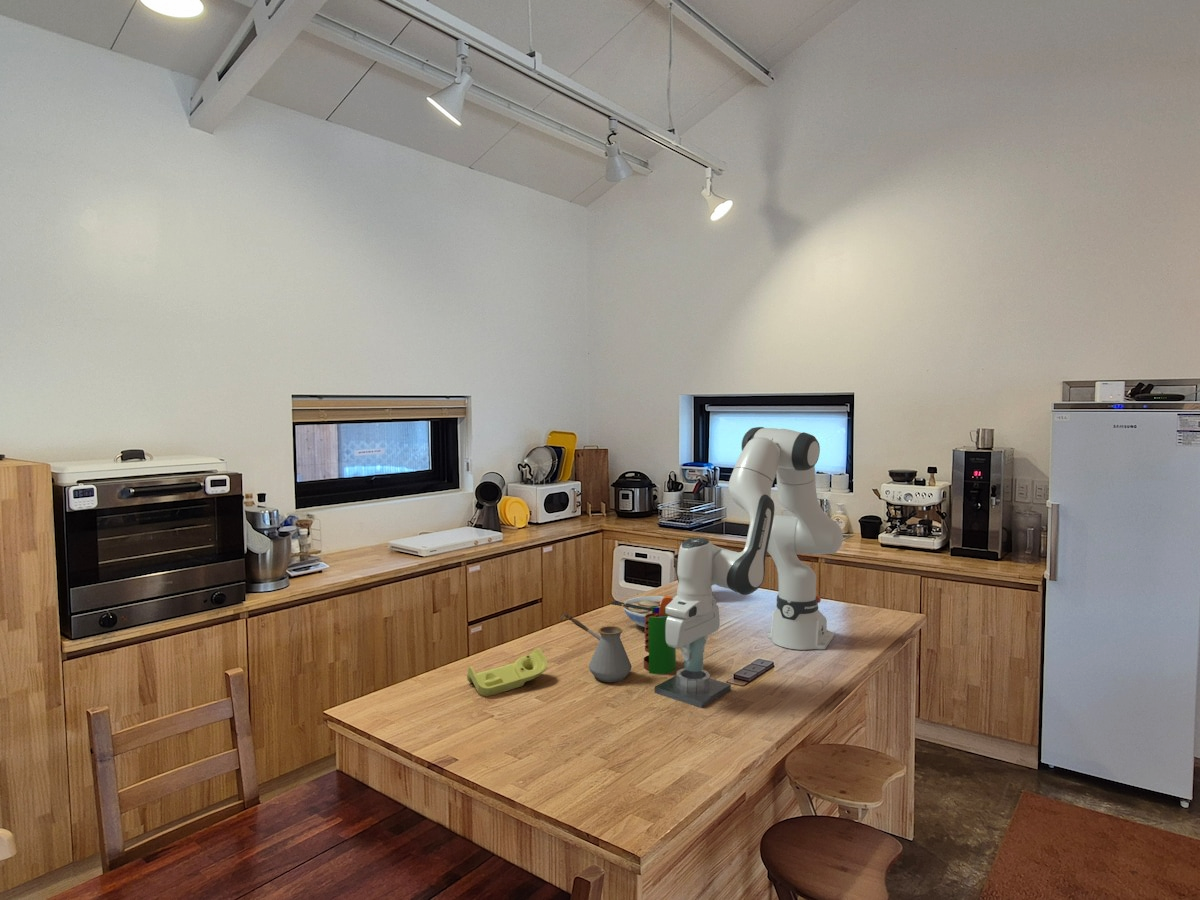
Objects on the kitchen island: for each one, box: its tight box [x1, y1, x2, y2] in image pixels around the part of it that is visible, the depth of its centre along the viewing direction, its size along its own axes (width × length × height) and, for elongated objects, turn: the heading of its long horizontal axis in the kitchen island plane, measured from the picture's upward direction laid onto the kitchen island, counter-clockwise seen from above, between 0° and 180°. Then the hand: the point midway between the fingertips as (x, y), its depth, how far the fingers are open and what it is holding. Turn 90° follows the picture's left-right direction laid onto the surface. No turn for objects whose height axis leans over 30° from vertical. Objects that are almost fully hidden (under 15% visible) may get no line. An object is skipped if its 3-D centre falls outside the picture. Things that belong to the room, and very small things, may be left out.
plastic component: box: [466, 647, 548, 697], centre depth 187 cm, size 20×7×10 cm
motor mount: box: [654, 668, 732, 709], centre depth 183 cm, size 14×14×4 cm
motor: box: [643, 595, 677, 675], centre depth 198 cm, size 10×9×20 cm
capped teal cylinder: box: [683, 637, 704, 672], centre depth 182 cm, size 5×5×10 cm
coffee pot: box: [560, 612, 632, 683], centre depth 194 cm, size 21×12×15 cm, turn 58°
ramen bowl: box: [611, 595, 674, 628], centre depth 234 cm, size 25×23×8 cm
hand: (693, 656), depth 182 cm, fingers closed on capped teal cylinder, 5 cm apart
